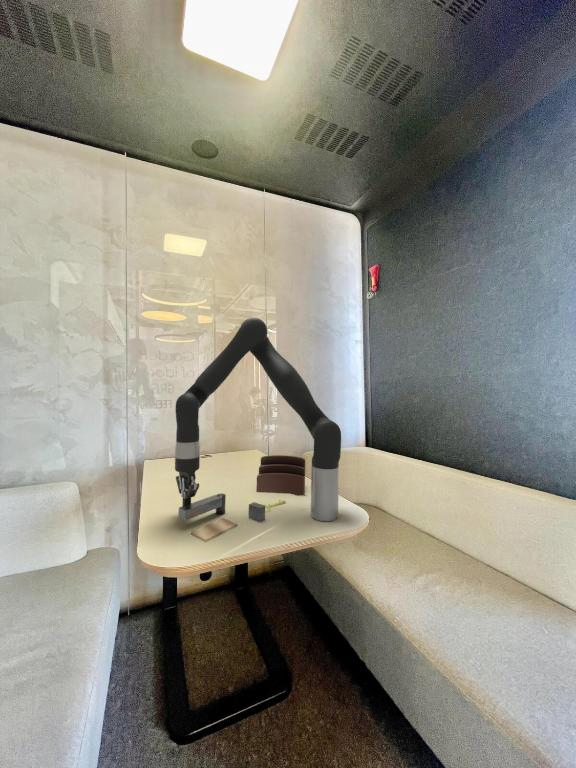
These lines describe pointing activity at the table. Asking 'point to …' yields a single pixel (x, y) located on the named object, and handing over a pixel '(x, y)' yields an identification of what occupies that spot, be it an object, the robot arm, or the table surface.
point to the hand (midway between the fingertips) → (186, 508)
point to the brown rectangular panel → (213, 529)
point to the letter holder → (281, 475)
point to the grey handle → (203, 507)
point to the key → (274, 505)
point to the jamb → (257, 512)
